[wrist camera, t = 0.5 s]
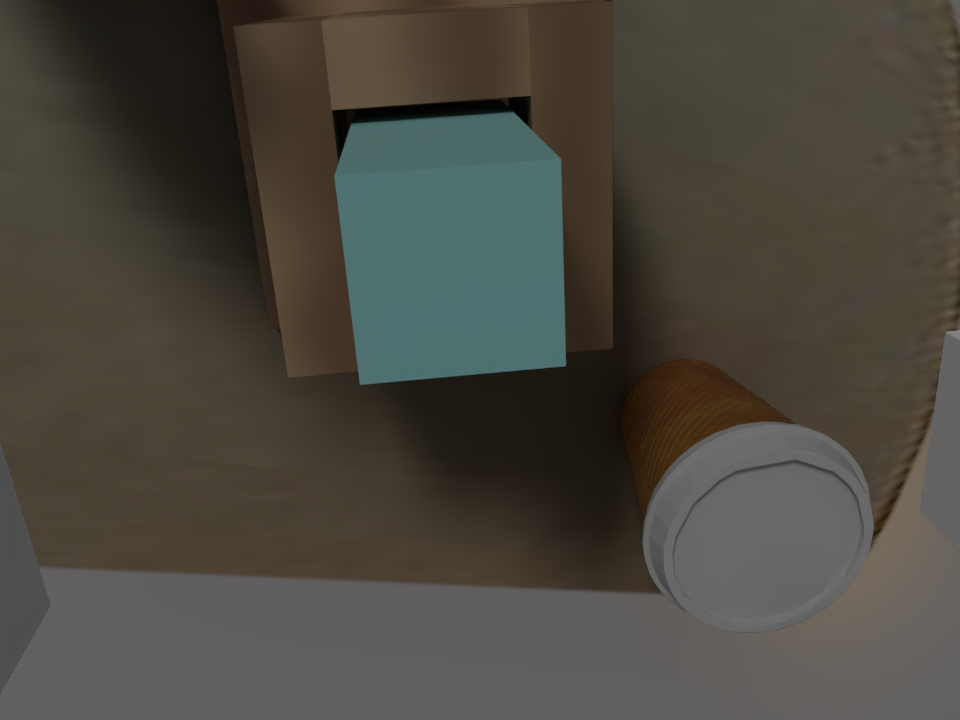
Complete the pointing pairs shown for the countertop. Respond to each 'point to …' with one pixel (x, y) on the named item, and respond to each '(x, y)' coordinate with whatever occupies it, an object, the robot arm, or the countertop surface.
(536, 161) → the block
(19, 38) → the countertop surface
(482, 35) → the chute
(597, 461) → the countertop surface
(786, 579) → the disposable coffee cup
